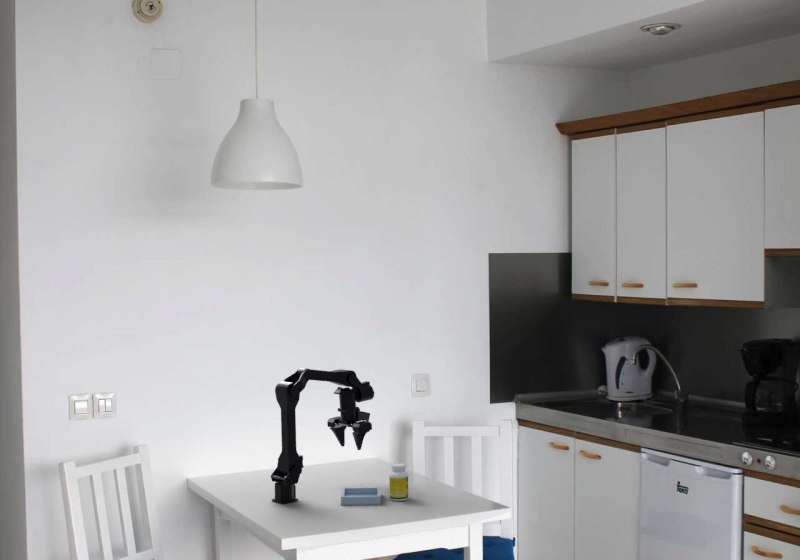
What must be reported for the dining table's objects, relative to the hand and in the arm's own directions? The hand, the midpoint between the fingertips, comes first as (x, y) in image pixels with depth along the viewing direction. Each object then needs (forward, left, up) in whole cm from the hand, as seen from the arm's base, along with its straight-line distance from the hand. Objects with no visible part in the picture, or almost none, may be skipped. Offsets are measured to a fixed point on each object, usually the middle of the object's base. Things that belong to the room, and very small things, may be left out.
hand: (351, 448), depth 326 cm
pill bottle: (-1, -25, -14) cm, 28 cm away
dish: (-10, -16, -14) cm, 23 cm away
